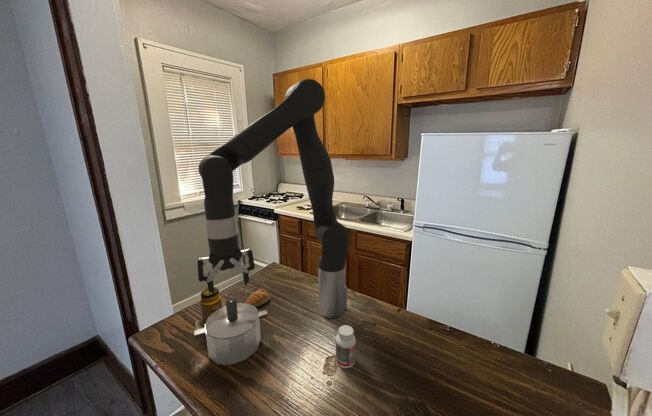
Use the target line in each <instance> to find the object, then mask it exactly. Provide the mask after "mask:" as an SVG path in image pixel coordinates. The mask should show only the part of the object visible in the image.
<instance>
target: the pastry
mask: <svg viewBox="0 0 652 416" xmlns="http://www.w3.org/2000/svg"><path fill="white" fill-rule="evenodd" d="M270 298H271V296H270V295H269V293H268V291H267V290H266V289H264V288H259V289H258V290H257V291H254V292H253V293H251V294H250V295H249V296H248V297H247V298H246V299H245V301H244V302H243V303H246V304H250V305H253V306H254V307H256V308H257V307H261V305H264V304H266V303H267V302H269V300H270Z"/></svg>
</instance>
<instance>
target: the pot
mask: <svg viewBox="0 0 652 416" xmlns="http://www.w3.org/2000/svg"><path fill="white" fill-rule="evenodd" d="M258 313H259V319H258V322H257V323H256V325H255V326H254V327H253V328H252V329H251V330H249V331H248V332H246V333H245V334H243V335H240V336H238V337H234V338H230V339H217V338H214V337H211V336H210V335H209V334H208V333H207V332H206V327H205V328H202V329H199V330H197V329H196V330H194V331H193V332H194V339H195V340H196V339H200V338H203V337H205V340H206V346H207V355H208V359H210V360H211V361H213V362H214V363H215V364H216V365H228V366H229V365H231V366H232V365H234V364H237V363H240V362H242V361H246V360H247V359H248V358H250V357H251V356H252V355H253V354H254V353H255V352H256V351H258V348H259V346H260V343H261V341H262V337H261V336H262V335H261V334H262V333H261V320H264V319H267V318H269V314H268V311H267V310H262V311H258Z"/></svg>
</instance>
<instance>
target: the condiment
mask: <svg viewBox="0 0 652 416" xmlns="http://www.w3.org/2000/svg"><path fill="white" fill-rule="evenodd" d="M219 291H220V290H219V288H218V287H215V286H214V293H213V294H212V292H209V291H208V287H206V288H205V289H202V291H201V292H200V299H201V300H200V303H199V305H200V309H201V318H202V319H199V320H195V321H194V322H195V323H194V324H195V329H196V330H199V329H202V328H205V324H206V321H207V319H208V317H209V316H210V315H211V314H212V313H214V312H215V311H216V310H218V309H220V308H222V307H223V305H222V299H221V298H222V297H221V294H220V292H219Z"/></svg>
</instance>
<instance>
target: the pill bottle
mask: <svg viewBox="0 0 652 416" xmlns="http://www.w3.org/2000/svg"><path fill="white" fill-rule="evenodd" d="M354 332H355V331H354V328H353V327H352V326H351V325H345V324H344V325H341V326H340V327H338V333H337V334H336V336H335V354H334V355H335V362H336V365H337V366H338V367H339V368H342V369H350V368H353V366H354V365H355V362H356V348H357V347H356V343H357V340H356V336H355V335H354Z"/></svg>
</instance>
